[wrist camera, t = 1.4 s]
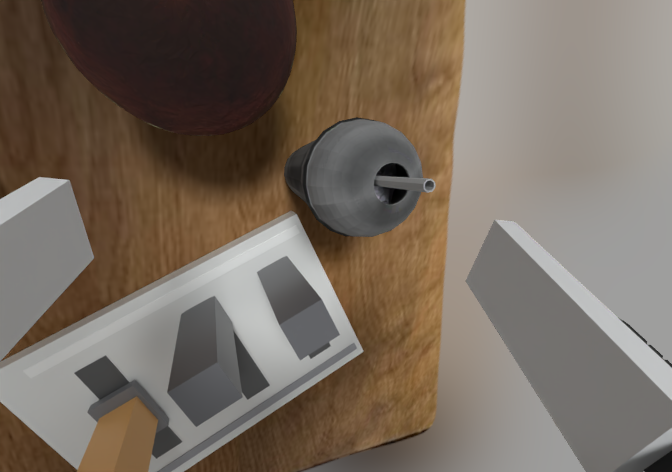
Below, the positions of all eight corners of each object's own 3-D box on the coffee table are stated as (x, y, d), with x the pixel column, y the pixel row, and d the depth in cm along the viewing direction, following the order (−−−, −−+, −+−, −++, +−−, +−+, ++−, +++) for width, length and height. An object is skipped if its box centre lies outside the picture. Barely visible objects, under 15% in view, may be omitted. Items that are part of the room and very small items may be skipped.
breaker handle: (90, 405, 26) (26, 538, 17) (135, 379, 27) (96, 493, 18) (128, 444, 28) (89, 583, 18) (169, 418, 28) (150, 540, 19)
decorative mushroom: (239, 164, 28) (268, 169, 14) (91, 105, 24) (-70, 31, 10) (283, 42, 27) (358, -75, 14) (139, -44, 23) (35, -349, 9)
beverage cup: (333, 217, 32) (494, 291, 14) (261, 202, 29) (346, 272, 11) (351, 144, 31) (547, 124, 13) (278, 121, 28) (400, 56, 10)
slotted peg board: (-6, 364, 25) (-177, 528, 14) (291, 210, 31) (337, 239, 20) (128, 490, 31) (84, 674, 20) (355, 342, 37) (419, 420, 26)
